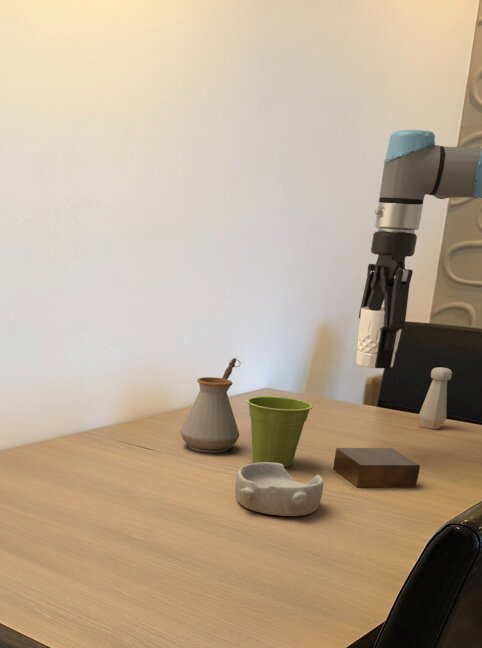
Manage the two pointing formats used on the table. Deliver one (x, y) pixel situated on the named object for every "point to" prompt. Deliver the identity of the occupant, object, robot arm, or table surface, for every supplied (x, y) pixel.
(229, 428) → the coffee pot
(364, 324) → the white cup
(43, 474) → the table surface
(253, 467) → the dish
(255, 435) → the plant pot
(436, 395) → the salt shaker
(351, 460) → the riser
